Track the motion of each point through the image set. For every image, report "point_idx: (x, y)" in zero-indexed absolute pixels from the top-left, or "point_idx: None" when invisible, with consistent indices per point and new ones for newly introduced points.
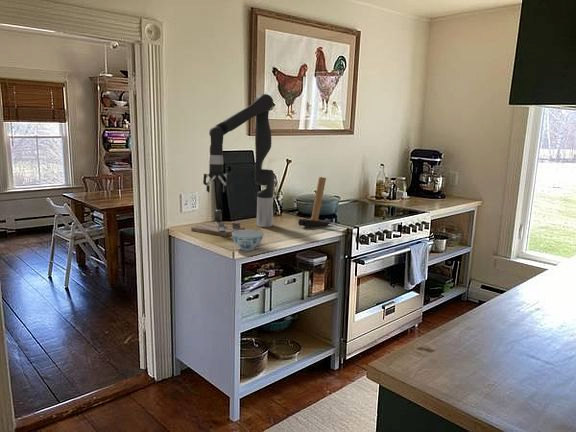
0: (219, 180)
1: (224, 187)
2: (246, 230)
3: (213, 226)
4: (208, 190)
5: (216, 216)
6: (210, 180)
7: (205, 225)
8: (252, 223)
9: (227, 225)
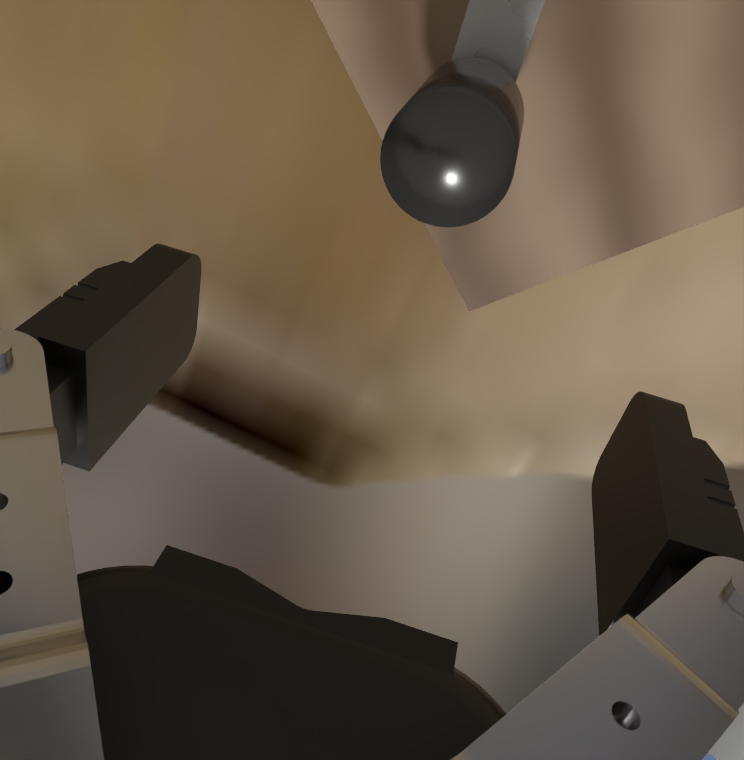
0: (134, 583)
1: (89, 308)
2: None
3: (577, 39)
4: (685, 433)
5: (506, 90)
6: (693, 742)
7: (642, 160)
8: (4, 174)
9: (360, 16)
